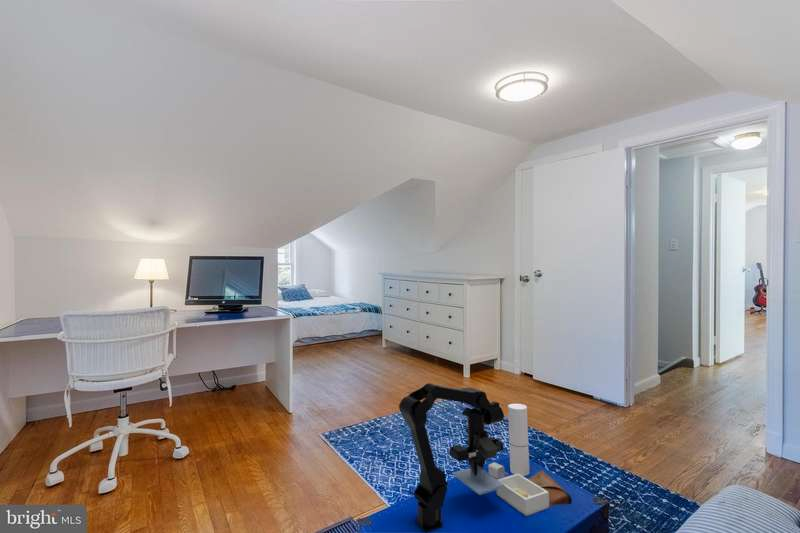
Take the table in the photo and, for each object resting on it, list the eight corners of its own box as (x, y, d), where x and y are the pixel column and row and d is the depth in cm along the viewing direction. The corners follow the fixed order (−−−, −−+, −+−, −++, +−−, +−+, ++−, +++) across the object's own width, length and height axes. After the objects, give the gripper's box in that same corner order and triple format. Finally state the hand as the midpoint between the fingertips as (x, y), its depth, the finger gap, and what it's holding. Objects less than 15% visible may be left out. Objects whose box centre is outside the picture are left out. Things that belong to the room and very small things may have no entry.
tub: (526, 516, 120) (525, 499, 120) (496, 494, 133) (496, 480, 133) (549, 507, 124) (548, 491, 125) (518, 487, 137) (518, 473, 137)
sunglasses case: (522, 479, 143) (530, 462, 143) (538, 487, 143) (545, 470, 144) (549, 506, 125) (557, 487, 126) (566, 515, 126) (575, 496, 127)
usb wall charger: (495, 472, 149) (495, 461, 149) (510, 479, 143) (509, 468, 143) (488, 475, 146) (488, 464, 147) (503, 482, 141) (502, 471, 141)
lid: (478, 498, 119) (478, 479, 119) (452, 477, 132) (452, 460, 132) (504, 490, 123) (504, 471, 124) (477, 471, 136) (476, 454, 137)
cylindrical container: (527, 467, 152) (524, 403, 153) (531, 476, 145) (528, 409, 146) (508, 466, 153) (506, 403, 154) (512, 475, 146) (509, 409, 147)
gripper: (467, 440, 117) (469, 493, 116) (514, 430, 125) (515, 478, 125) (447, 429, 127) (448, 477, 126) (492, 419, 135) (493, 464, 135)
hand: (477, 474), depth 128 cm, fingers closed on lid
